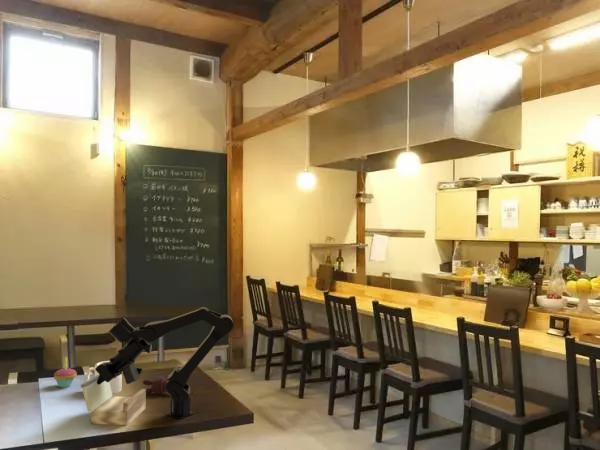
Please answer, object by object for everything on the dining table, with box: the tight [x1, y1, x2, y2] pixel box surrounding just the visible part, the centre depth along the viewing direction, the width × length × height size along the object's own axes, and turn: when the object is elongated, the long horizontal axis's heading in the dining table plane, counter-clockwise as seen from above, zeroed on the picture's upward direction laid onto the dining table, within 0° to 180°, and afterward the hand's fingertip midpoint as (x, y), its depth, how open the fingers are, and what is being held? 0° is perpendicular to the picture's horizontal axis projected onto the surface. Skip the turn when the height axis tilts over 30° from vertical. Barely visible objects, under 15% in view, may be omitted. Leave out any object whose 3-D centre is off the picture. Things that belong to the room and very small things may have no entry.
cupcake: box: [53, 356, 78, 388], centre depth 206 cm, size 9×8×12 cm
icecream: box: [142, 376, 168, 396], centre depth 197 cm, size 7×7×15 cm
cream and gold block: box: [90, 388, 147, 426], centre depth 172 cm, size 12×16×7 cm
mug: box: [85, 360, 123, 395], centre depth 200 cm, size 14×10×11 cm
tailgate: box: [80, 374, 114, 413], centre depth 172 cm, size 2×16×9 cm, turn 177°
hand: (98, 383), depth 172 cm, fingers closed, pressing on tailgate
